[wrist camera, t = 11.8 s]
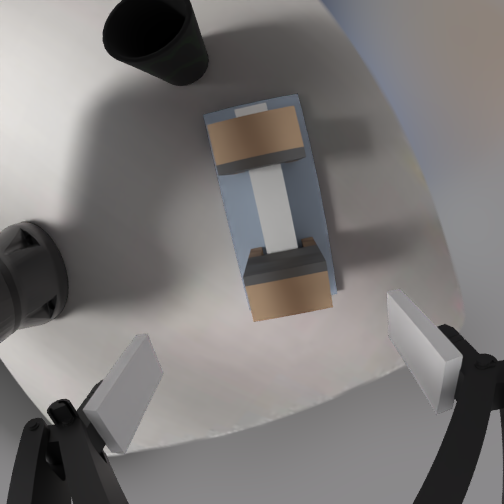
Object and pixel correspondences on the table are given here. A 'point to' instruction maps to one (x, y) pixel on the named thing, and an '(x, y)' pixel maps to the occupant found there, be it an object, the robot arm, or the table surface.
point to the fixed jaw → (256, 141)
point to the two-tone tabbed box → (287, 281)
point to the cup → (157, 39)
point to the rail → (295, 190)
